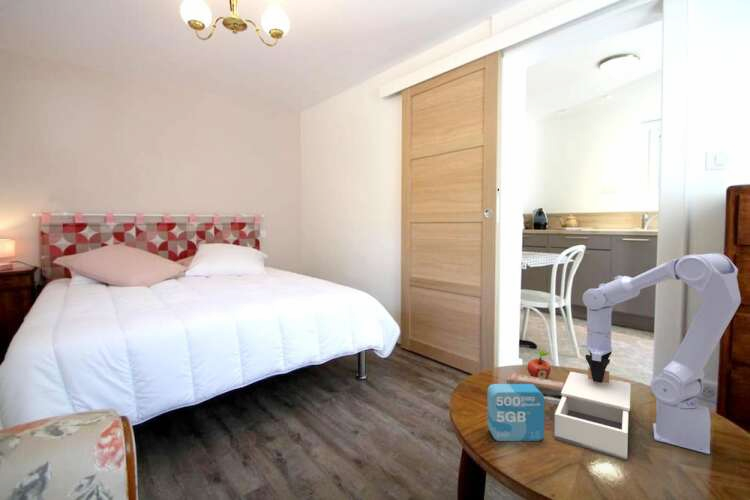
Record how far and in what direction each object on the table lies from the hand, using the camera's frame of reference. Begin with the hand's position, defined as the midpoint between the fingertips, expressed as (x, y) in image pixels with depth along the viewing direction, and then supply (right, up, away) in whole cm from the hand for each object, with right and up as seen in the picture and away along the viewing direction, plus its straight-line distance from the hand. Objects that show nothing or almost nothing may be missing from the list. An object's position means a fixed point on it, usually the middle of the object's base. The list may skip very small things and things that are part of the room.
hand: (598, 378), depth 98 cm
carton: (-10, -8, -13) cm, 19 cm away
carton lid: (-4, -1, -5) cm, 6 cm away
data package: (-29, -9, -14) cm, 34 cm away
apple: (-9, -7, +16) cm, 20 cm away
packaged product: (-14, -8, +7) cm, 17 cm away
